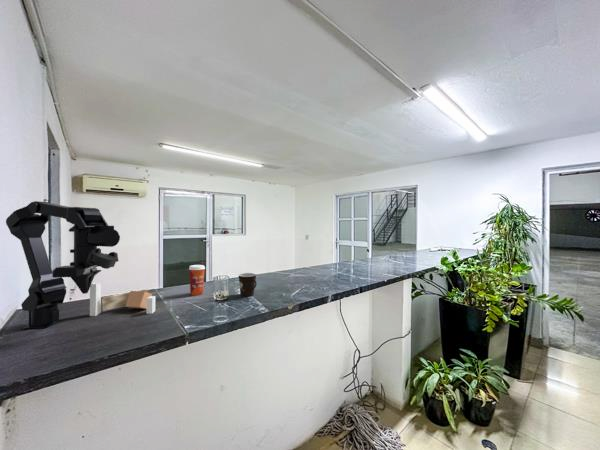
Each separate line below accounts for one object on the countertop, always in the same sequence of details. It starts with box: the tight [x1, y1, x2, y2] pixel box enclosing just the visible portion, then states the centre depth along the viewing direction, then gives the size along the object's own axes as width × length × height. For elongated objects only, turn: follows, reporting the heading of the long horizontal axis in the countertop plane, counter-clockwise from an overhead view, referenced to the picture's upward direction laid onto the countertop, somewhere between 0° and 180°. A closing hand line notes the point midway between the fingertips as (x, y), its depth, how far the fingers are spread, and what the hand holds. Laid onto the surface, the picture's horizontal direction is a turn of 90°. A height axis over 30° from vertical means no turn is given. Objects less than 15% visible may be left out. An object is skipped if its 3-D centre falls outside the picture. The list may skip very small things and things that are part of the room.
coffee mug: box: [238, 272, 257, 298], centre depth 120 cm, size 12×9×10 cm
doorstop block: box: [124, 290, 153, 310], centre depth 99 cm, size 6×5×6 cm
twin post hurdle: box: [89, 281, 156, 317], centre depth 94 cm, size 22×3×12 cm, turn 100°
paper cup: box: [188, 264, 206, 296], centre depth 122 cm, size 8×8×14 cm
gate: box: [101, 288, 149, 312], centre depth 100 cm, size 16×1×5 cm, turn 143°
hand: (85, 293), depth 80 cm, fingers closed
